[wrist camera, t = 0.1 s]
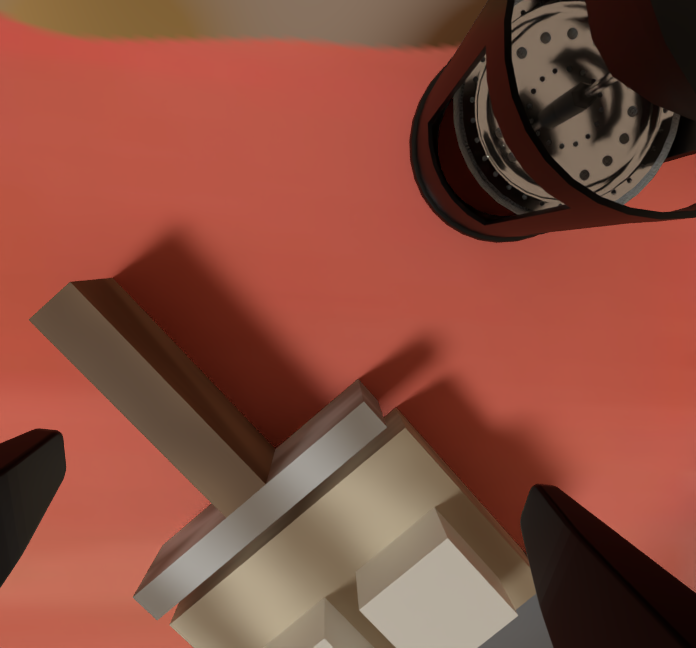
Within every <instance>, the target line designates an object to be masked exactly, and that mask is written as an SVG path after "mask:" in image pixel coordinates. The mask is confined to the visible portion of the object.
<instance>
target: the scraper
mask: <svg viewBox="0 0 696 648" xmlns="http://www.w3.org/2000/svg"><path fill="white" fill-rule="evenodd" d="M29 321H30V322H31V323H32V324H33V325H34V326H35V327H36V328H37V329H38V330H39V331H40V332H41V333H42V334H43V335H44V336H45V337H46V338H47V339H48V340H49V341H50V342H51V343H52V344H53V345H54V346H55V347H56V348H57V349H58V350H59V351H60V352H61V353H62V354H63V355H64V356H65V357H66V358H67V359H68V360H69V361H70V362H71V363H72V364H73V365H74V366H75V367H76V368H77V369H78V370H79V371H80V372H81V373H82V374H83V375H84V376H85V377H86V378H87V379H88V380H89V381H90V382H91V383H92V384H93V385H94V386H95V387H96V388H97V389H98V390H99V391H100V392H101V393H102V394H103V395H104V396H105V397H106V398H107V399H108V400H109V401H110V402H111V403H112V404H113V405H114V406H115V407H116V408H117V409H118V410H119V411H120V412H121V413H122V414H123V415H124V416H125V417H126V418H127V419H128V420H129V421H130V422H131V423H132V424H133V425H134V426H135V427H136V428H137V429H138V430H139V431H140V432H141V433H142V434H143V435H144V436H145V437H146V438H147V439H148V440H149V441H150V442H151V443H152V444H153V445H154V446H155V447H156V448H157V449H158V450H159V451H160V452H161V453H162V454H163V455H164V456H165V457H166V458H167V459H168V460H169V461H170V462H171V463H172V464H173V465H174V466H175V467H176V468H177V469H178V470H179V471H180V472H181V473H182V474H183V475H184V476H185V477H186V478H187V479H188V480H189V481H190V482H191V483H192V484H193V485H194V486H195V487H196V488H197V489H198V490H199V491H200V492H201V493H202V494H203V495H204V496H205V497H206V498H207V499H208V500H209V501H210V502H211V503H212V504H210V505H209V506H208V507H207V508H206V509H205V510H203V511H202V512H201V513H200V514H199V515H198V516H196V517H195V518H194V519H193V520H192V521H191V522H189V523H188V524H187V525H186V526H185V527H183V528H182V529H181V530H180V531H179V532H178V533H176V534H175V535H174V536H173V537H172V538H171V539H169V540H168V541H167V542H166V543H165V544H164V545H162V547H161V549H160V551H159V552H158V554H157V556H156V558H155V559H154V561H153V563H152V565H151V566H150V568H149V570H148V572H147V573H146V575H145V577H144V578H143V580H142V582H141V584H140V585H139V587H138V589H137V591H136V592H135V594H134V596H133V598H134V599H135V600H136V601H137V602H138V603H139V604H140V605H141V606H142V607H144V608H145V609H146V610H147V611H148V612H149V613H150V614H151V615H152V616H153V617H154V618H155V619H156V620H158V619H160V618H161V617H162V616H163V615H164V614H166V613H167V612H168V611H169V610H170V609H172V608H173V607H174V606H175V605H176V604H177V603H179V602H180V601H181V600H182V599H183V598H185V597H186V596H187V595H188V594H189V593H191V592H192V591H193V590H194V589H195V588H197V587H198V586H199V585H200V584H201V583H202V582H204V581H205V580H206V579H207V578H208V577H210V576H211V575H212V574H213V573H214V572H216V571H217V570H218V569H219V568H220V567H221V566H223V565H224V564H225V563H226V562H227V561H229V560H230V559H231V558H232V557H233V556H235V555H236V554H237V553H238V552H239V551H241V550H242V549H243V548H244V547H245V546H246V545H248V544H249V543H250V542H251V541H252V540H254V539H255V538H256V537H257V536H258V535H260V534H261V533H262V532H263V531H264V530H266V529H267V528H268V527H269V526H270V525H271V524H273V523H274V522H275V521H276V520H277V519H279V518H280V517H281V516H282V515H283V514H285V513H286V512H287V511H288V510H289V509H291V508H292V507H293V506H294V505H295V504H296V503H298V502H299V501H300V500H301V499H302V498H304V497H305V496H306V495H307V494H308V493H310V492H311V491H312V490H313V489H314V488H316V487H317V486H318V485H319V484H320V483H321V482H323V481H324V480H325V479H326V478H327V477H329V476H330V475H331V474H332V473H333V472H335V471H336V470H337V469H338V468H339V467H341V466H342V465H343V464H344V463H345V462H346V461H348V460H349V459H350V458H351V457H352V456H354V455H355V454H356V453H357V452H358V451H360V450H361V449H362V448H363V447H364V446H366V445H367V444H368V443H369V442H370V441H371V440H373V439H374V438H375V437H376V436H377V435H379V434H380V433H381V432H382V431H383V430H385V429H386V428H387V426H386V423H385V420H384V417H383V414H382V411H381V409H380V406H379V403H378V401H377V399H376V398H375V397H374V396H373V395H372V394H371V393H370V392H369V390H368V389H367V388H366V387H365V386H364V385H363V384H362V383H361V381H360V380H359V379H357V380H356V381H355V382H354V383H353V384H351V385H350V386H349V387H348V388H347V389H345V390H344V391H343V392H342V393H341V394H340V395H338V396H337V397H336V398H335V399H334V400H333V401H331V402H330V403H329V404H328V405H327V406H326V407H324V408H323V409H322V410H321V411H320V412H318V413H317V414H316V415H315V416H314V417H313V418H311V419H310V420H309V421H308V422H307V423H306V424H304V425H303V426H302V427H301V428H300V429H299V430H297V431H296V432H295V433H294V434H293V435H291V436H290V437H289V438H288V439H287V440H286V441H284V442H283V443H282V444H281V445H280V446H279V447H277V448H276V449H275V448H274V447H273V446H272V445H271V444H270V443H269V442H268V441H267V440H266V439H265V438H264V437H263V435H262V434H261V433H260V432H259V431H258V430H257V429H256V428H255V427H254V426H253V425H252V424H251V423H250V422H249V421H248V420H247V419H246V418H245V417H244V415H243V414H242V413H241V412H240V411H239V410H238V409H237V408H236V407H235V406H234V405H233V404H232V403H231V402H230V401H229V400H228V399H227V398H226V397H225V395H224V394H223V393H222V392H221V391H220V390H219V389H218V388H217V387H216V386H215V385H214V384H213V383H212V382H211V381H210V380H209V379H208V378H207V377H206V375H205V374H204V373H203V372H202V371H201V370H200V369H199V368H198V367H197V366H196V365H195V364H194V363H193V362H192V361H191V360H190V359H189V358H188V357H187V355H186V354H185V353H184V352H183V351H182V350H181V349H180V348H179V347H178V346H177V345H176V344H175V343H174V342H173V341H172V340H171V339H170V338H169V337H168V335H167V334H166V333H165V332H164V331H163V330H162V329H161V328H160V327H159V326H158V325H157V324H156V323H155V322H154V321H153V320H152V319H151V318H150V317H149V315H148V314H147V313H146V312H145V311H144V310H143V309H142V308H141V307H140V306H139V305H138V304H137V303H136V302H135V301H134V300H133V299H132V298H131V297H130V295H129V294H128V293H127V292H126V291H125V290H124V289H123V288H122V287H121V286H120V285H119V284H118V283H117V282H116V281H115V280H114V279H113V278H107V279H96V280H86V281H75V282H70V283H68V284H67V285H66V286H65V287H64V288H63V289H62V290H61V291H60V292H59V293H57V294H56V295H55V296H54V297H53V298H52V299H51V300H50V301H49V302H48V303H46V304H45V305H44V306H43V307H42V308H41V309H40V310H39V311H38V312H37V313H36V314H34V315H33V316H32V317H31V318H30V319H29Z"/></svg>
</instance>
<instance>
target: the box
mask: <svg viewBox="0 0 696 648" xmlns="http://www.w3.org/2000/svg"><path fill="white" fill-rule="evenodd" d="M523 552H524V551H523ZM524 553H525V552H524ZM525 555H526V553H525ZM526 556H527V555H526ZM527 558H528V557H527ZM516 612H517V614H518V616H517V617H516V618H515V619H513V620H512V621H511V622H510V623H508V624H507V625H506V626H505V627H503V628H502V629H501V630H499V631H498V632H497V633H496V634H494V635H493V636H492V637H491V638H489V639H488V640H487V641H486V642H484V643H483V644H482V645H480V646H479V647H478V648H553V645H552V643H551V640H550V637H549V634H548V631H547V628H546V625H545V622H544V619H543V616H542V613H541V610H540V606H539V603H538V599H537V595H536V594H535V595H534V596H532V597H531V598H530V599H529V600H527V601H526V602H525V603H524V604H522V605H521V606H520V607H519V608H517V609H516Z"/></svg>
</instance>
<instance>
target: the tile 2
mask: <svg viewBox="0 0 696 648" xmlns="http://www.w3.org/2000/svg"><path fill="white" fill-rule="evenodd" d="M356 582H357V593H358V604H359V611H360V612H361V613H362V614H363V615H364V616H365V617H366V618H367V619H368V620H369V621H370V622H371V623H372V624H373V625H374V626H375V627H376V628H377V629H378V630H379V631H380V632H381V633H382V634H383V635H384V636H385V637H386V638H387V639H388V640H389V641H390V642H391V643H392V644H393V645H394V646H395V647H396V648H478V647H479V646H480V645H482V644H483V643H484V642H486V641H487V640H488V639H489V638H491V637H492V636H493V635H494V634H496V633H497V632H498V631H499V630H501V629H502V628H503V627H505V626H506V625H507V624H508V623H510V622H511V621H512V620H513V619H515V618H516V617H517V616H518V614H517V612H516V610H515V608H514V606H513V604H512V603H511V601H510V599H509V597H508V595H507V593H506V591H505V589H504V588H503V586H502V584H501V582H500V580H499V578H498V577H497V576H496V575H495V573H494V572H493V571H492V570H491V569H490V568H489V567H488V566H487V565H486V564H485V562H484V561H483V560H482V559H481V558H480V557H479V556H478V555H477V554H476V552H475V551H474V550H473V549H472V548H471V547H470V546H469V545H468V544H467V543H466V541H465V540H464V539H463V538H462V537H461V536H460V535H459V534H458V533H457V532H456V530H455V529H454V528H453V527H452V526H451V525H450V524H449V523H448V522H447V521H446V519H445V518H444V517H443V516H442V515H441V514H440V513H439V512H438V511H437V510H436V508H435V507H434V508H433V509H432V510H431V511H429V512H428V513H427V514H426V515H424V516H423V517H422V518H421V519H420V520H418V521H417V522H416V523H415V524H414V525H412V526H411V527H410V528H409V529H407V530H406V531H405V532H404V533H403V534H401V535H400V536H399V537H398V538H396V539H395V540H394V541H393V542H392V543H390V544H389V545H388V546H387V547H385V548H384V549H383V550H382V551H381V552H379V553H378V554H377V555H376V556H374V557H373V558H372V559H371V560H370V561H368V562H367V563H366V564H365V565H363V566H362V567H361V568H360V569H359V570H357V571H356Z"/></svg>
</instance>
